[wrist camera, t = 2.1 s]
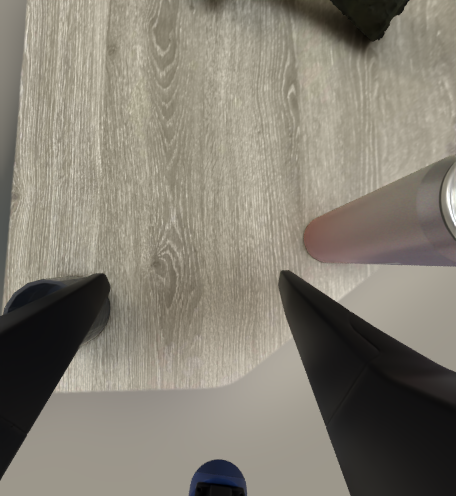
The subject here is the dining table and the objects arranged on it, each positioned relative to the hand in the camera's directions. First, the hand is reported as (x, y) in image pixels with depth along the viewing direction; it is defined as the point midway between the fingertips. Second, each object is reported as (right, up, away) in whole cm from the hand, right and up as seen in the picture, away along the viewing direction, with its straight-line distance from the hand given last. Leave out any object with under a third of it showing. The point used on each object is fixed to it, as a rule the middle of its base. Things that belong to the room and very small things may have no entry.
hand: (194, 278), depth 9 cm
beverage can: (+14, +3, +14) cm, 20 cm away
